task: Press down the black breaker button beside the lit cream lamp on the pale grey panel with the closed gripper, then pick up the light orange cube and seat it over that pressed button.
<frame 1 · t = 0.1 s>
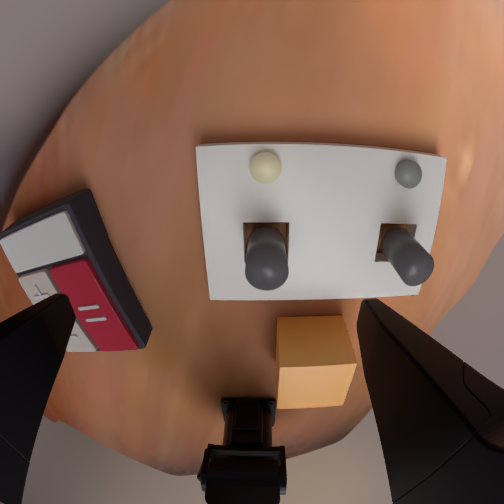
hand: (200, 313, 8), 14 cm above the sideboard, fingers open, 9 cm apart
calculator: (81, 272, 26), on the sideboard
light orange cube: (307, 340, 27), on the sideboard
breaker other: (406, 255, 19), point 4 cm above the sideboard, slide at 0.0 cm
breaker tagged: (266, 256, 19), point 4 cm above the sideboard, slide at 0.0 cm
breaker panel: (325, 222, 22), on the sideboard
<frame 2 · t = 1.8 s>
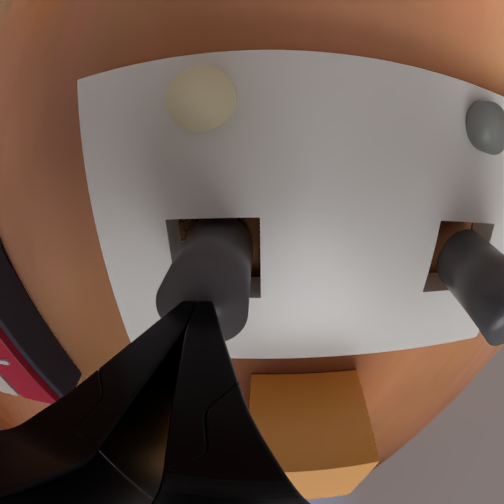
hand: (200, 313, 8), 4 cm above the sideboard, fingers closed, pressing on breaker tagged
light orange cube: (300, 402, 17), on the sideboard
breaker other: (485, 283, 8), point 3 cm above the sideboard, slide at 0.0 cm
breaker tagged: (211, 272, 10), point 2 cm above the sideboard, slide at 1.2 cm, touching gripper
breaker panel: (335, 218, 11), on the sideboard
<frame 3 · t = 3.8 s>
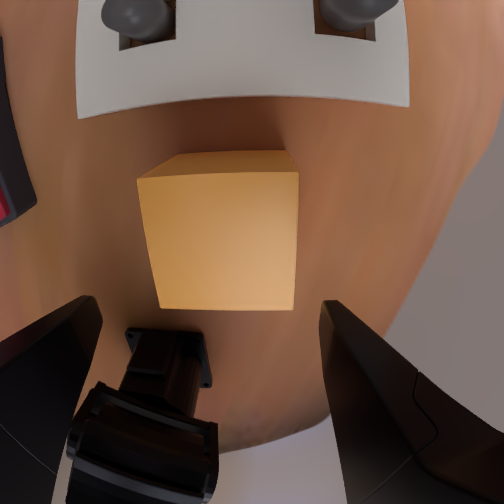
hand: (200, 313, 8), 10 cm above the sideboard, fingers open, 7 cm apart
light orange cube: (233, 202, 17), on the sideboard
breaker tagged: (142, 16, 10), point 2 cm above the sideboard, slide at 1.4 cm
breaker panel: (235, 0, 11), on the sideboard
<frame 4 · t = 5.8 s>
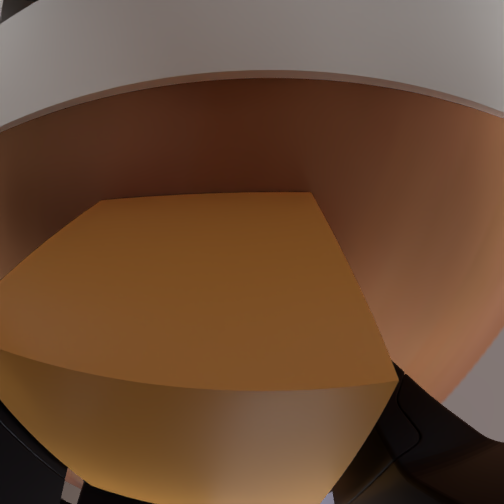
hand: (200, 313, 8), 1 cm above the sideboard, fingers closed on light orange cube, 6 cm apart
light orange cube: (207, 288, 9), on the sideboard, touching gripper
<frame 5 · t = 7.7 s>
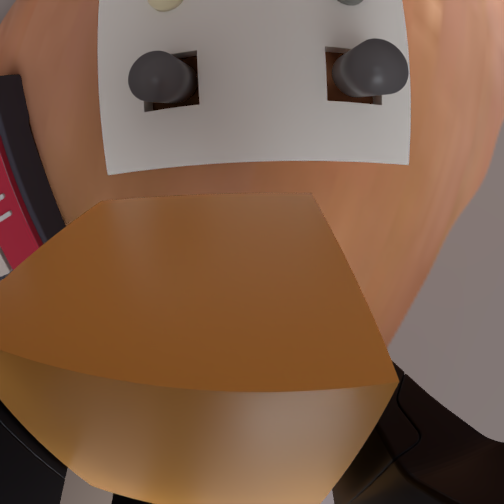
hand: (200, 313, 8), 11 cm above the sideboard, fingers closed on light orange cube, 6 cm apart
calculator: (7, 179, 18), on the sideboard
light orange cube: (207, 288, 9), point 10 cm above the sideboard, touching gripper
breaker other: (366, 71, 11), point 4 cm above the sideboard, slide at 0.0 cm
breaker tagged: (165, 79, 13), point 2 cm above the sideboard, slide at 1.4 cm
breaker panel: (252, 60, 14), on the sideboard
when the fingers open (4 cm above the sideboard, at t = 10.0 s): light orange cube stays where it is, resting on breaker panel.
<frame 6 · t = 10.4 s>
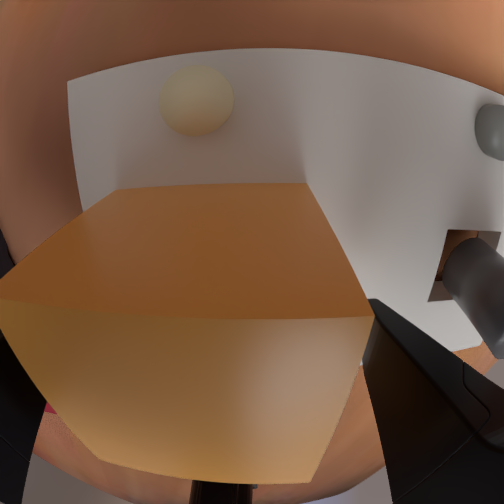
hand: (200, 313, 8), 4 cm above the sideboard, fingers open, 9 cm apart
light orange cube: (212, 271, 10), point 1 cm above the sideboard, touching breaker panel
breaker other: (492, 294, 8), point 3 cm above the sideboard, slide at 0.0 cm
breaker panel: (338, 226, 11), on the sideboard
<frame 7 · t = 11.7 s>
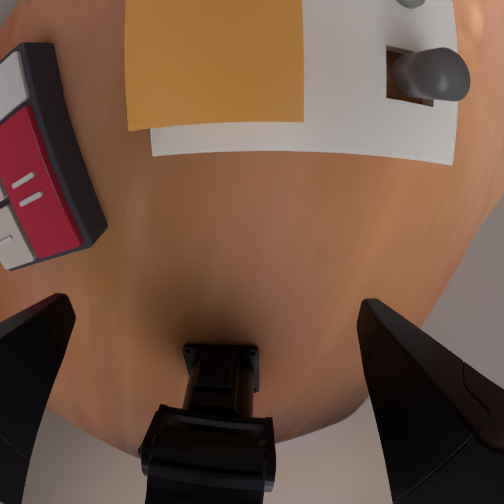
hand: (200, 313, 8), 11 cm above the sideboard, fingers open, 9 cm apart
calculator: (31, 158, 17), on the sideboard
light orange cube: (229, 61, 13), point 1 cm above the sideboard, touching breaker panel
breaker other: (428, 74, 11), point 3 cm above the sideboard, slide at 0.0 cm
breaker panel: (312, 49, 13), on the sideboard
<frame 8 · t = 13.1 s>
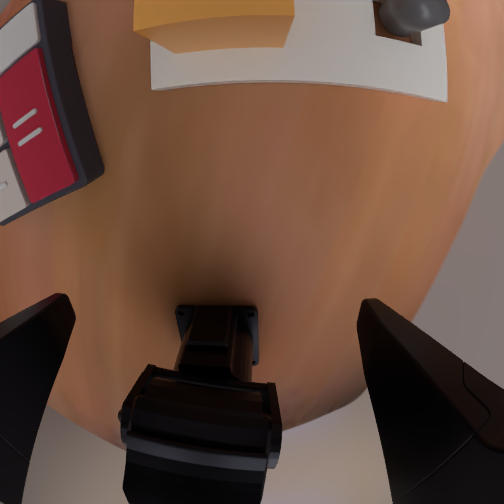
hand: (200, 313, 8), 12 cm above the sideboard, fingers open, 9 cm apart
calculator: (33, 111, 16), on the sideboard
light orange cube: (227, 3, 12), point 1 cm above the sideboard, touching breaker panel
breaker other: (412, 10, 10), point 3 cm above the sideboard, slide at 0.0 cm
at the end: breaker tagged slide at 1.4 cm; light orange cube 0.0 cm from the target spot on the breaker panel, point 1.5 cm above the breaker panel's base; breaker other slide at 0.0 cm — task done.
